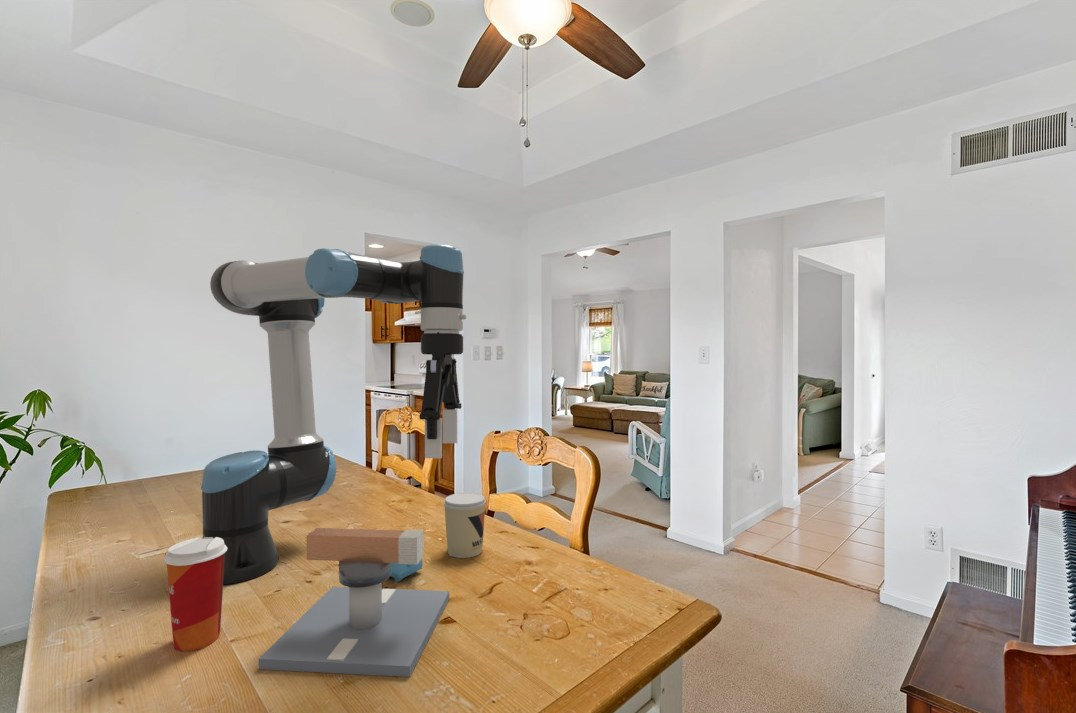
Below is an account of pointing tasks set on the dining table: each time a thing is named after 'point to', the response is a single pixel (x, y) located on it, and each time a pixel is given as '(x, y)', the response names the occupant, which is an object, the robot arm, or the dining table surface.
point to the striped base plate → (360, 632)
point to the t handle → (365, 552)
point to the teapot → (404, 570)
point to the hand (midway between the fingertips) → (442, 450)
